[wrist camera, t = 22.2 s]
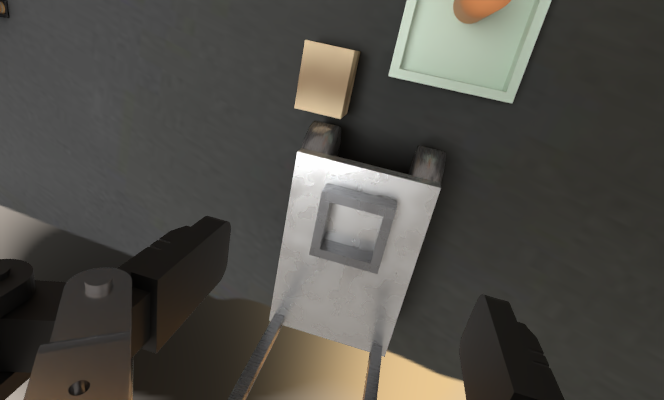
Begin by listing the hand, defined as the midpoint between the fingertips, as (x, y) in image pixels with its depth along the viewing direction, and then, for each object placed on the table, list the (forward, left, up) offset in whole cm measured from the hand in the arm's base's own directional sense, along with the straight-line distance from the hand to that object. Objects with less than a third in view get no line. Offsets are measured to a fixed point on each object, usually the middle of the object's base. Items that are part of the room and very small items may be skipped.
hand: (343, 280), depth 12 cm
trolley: (+11, -1, -28) cm, 30 cm away
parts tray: (-12, +4, -28) cm, 31 cm away
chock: (-4, -7, -28) cm, 29 cm away
